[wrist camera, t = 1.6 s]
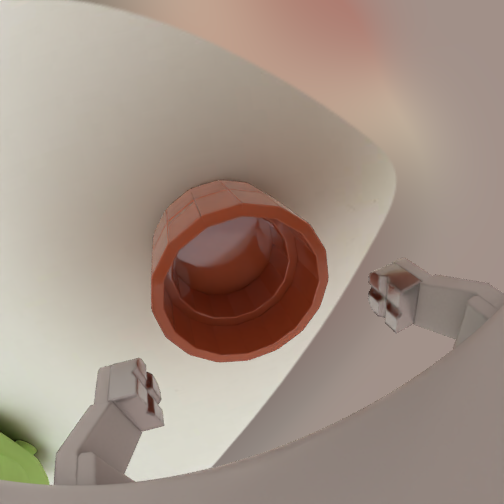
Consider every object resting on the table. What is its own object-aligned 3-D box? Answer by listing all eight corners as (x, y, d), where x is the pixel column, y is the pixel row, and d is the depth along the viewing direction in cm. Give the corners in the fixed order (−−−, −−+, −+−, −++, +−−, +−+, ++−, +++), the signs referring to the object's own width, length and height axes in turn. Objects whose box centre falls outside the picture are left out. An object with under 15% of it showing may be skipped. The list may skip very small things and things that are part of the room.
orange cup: (133, 205, 12) (120, 244, 8) (271, 162, 14) (317, 181, 10) (179, 318, 16) (190, 380, 12) (292, 278, 17) (332, 327, 13)
